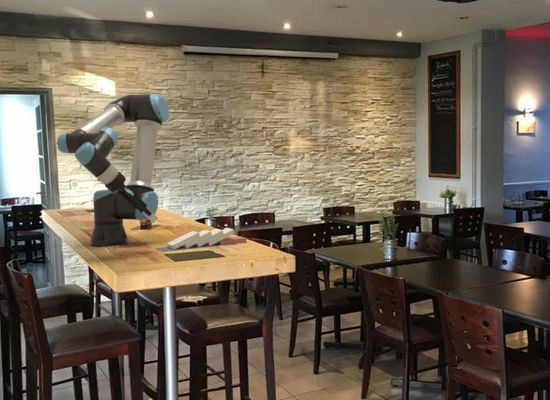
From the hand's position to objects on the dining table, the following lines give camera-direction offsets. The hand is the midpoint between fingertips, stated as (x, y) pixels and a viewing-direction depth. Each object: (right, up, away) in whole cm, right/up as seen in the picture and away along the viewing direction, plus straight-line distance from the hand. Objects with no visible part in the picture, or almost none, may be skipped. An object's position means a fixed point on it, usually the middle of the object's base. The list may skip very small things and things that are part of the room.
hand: (155, 220), depth 236 cm
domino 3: (+14, -10, +10) cm, 20 cm away
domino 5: (+22, -9, +15) cm, 29 cm away
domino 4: (+18, -10, +13) cm, 24 cm away
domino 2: (+9, -10, +7) cm, 16 cm away
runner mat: (+14, -11, +10) cm, 21 cm away
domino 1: (+5, -10, +5) cm, 13 cm away
